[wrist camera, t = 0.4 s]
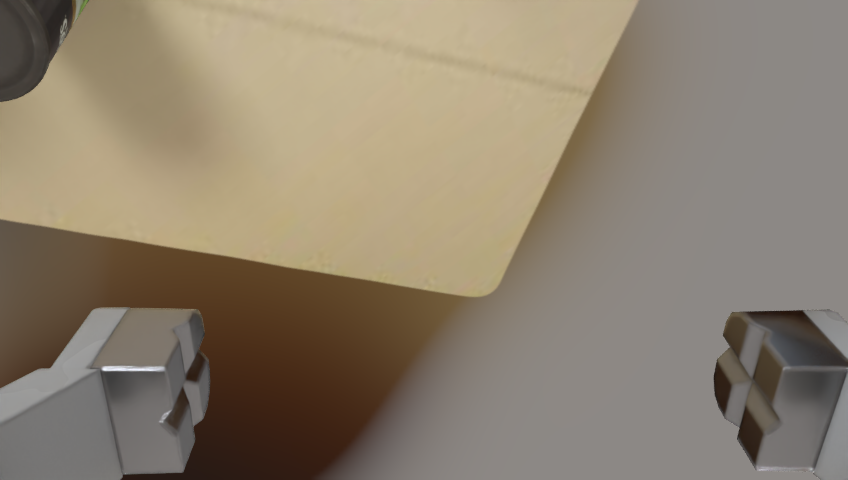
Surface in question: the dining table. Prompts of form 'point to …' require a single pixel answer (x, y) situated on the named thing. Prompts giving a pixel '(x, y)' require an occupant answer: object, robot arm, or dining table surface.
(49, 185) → the dining table surface
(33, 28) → the coffee can
